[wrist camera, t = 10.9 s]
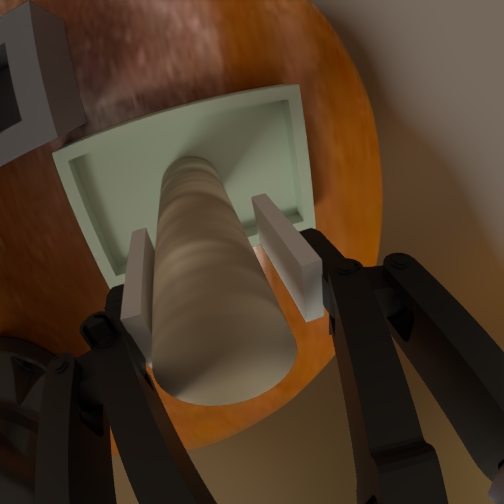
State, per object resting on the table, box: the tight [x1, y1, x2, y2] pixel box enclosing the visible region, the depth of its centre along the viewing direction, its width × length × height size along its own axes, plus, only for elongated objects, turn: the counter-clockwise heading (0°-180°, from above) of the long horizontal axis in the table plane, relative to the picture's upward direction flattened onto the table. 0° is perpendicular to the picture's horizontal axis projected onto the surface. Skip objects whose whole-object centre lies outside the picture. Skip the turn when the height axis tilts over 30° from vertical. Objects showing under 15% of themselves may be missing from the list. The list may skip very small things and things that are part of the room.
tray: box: [52, 84, 316, 289], centre depth 23 cm, size 18×12×3 cm, turn 100°
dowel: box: [152, 156, 297, 406], centre depth 16 cm, size 4×4×17 cm
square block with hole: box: [0, 1, 87, 167], centre depth 14 cm, size 9×9×7 cm
